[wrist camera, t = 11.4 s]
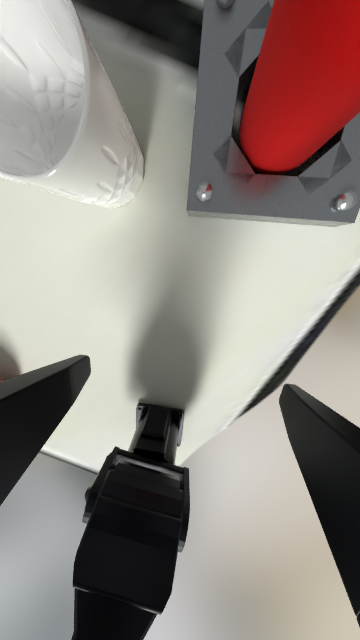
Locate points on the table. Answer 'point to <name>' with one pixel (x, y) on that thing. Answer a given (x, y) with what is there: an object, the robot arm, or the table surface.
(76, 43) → the white cup
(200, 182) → the housing
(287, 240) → the table surface
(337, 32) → the beverage can
